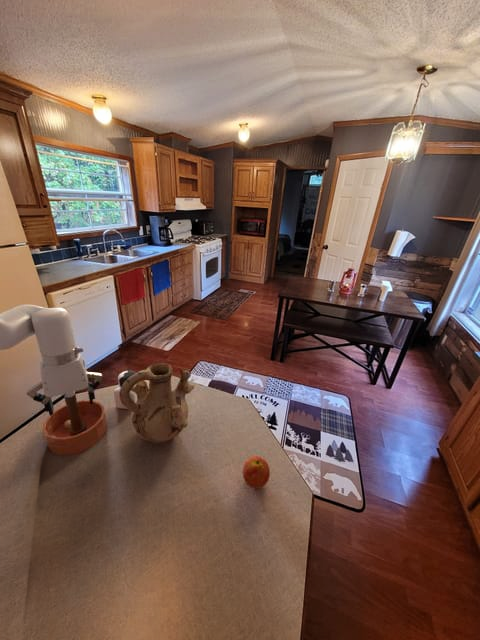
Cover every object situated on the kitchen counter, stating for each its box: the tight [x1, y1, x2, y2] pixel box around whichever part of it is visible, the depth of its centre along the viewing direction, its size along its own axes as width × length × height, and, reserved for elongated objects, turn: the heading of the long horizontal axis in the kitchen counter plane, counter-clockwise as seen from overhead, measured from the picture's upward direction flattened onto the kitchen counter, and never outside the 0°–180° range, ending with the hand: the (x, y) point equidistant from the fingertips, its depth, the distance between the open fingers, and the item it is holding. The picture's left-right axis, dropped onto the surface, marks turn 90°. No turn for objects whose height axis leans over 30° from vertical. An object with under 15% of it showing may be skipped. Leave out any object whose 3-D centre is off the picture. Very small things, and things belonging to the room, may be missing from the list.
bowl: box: [42, 399, 108, 456], centre depth 75 cm, size 15×15×6 cm
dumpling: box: [65, 420, 71, 428], centre depth 77 cm, size 2×2×2 cm
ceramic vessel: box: [119, 362, 195, 444], centre depth 74 cm, size 18×19×25 cm
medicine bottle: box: [113, 370, 137, 410], centre depth 88 cm, size 7×7×12 cm
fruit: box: [242, 455, 271, 489], centre depth 65 cm, size 7×7×8 cm
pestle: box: [63, 391, 87, 436], centre depth 73 cm, size 4×4×14 cm
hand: (72, 406), depth 73 cm, fingers open, 9 cm apart
